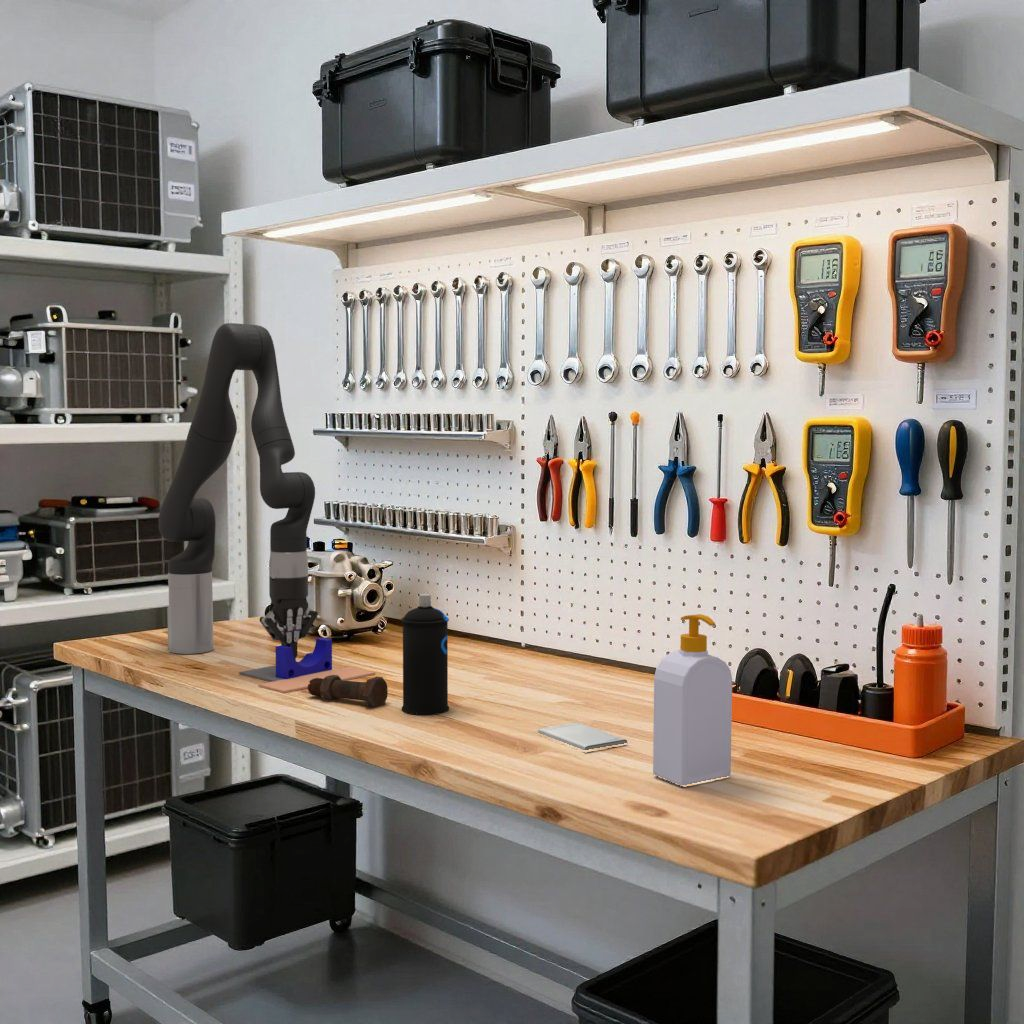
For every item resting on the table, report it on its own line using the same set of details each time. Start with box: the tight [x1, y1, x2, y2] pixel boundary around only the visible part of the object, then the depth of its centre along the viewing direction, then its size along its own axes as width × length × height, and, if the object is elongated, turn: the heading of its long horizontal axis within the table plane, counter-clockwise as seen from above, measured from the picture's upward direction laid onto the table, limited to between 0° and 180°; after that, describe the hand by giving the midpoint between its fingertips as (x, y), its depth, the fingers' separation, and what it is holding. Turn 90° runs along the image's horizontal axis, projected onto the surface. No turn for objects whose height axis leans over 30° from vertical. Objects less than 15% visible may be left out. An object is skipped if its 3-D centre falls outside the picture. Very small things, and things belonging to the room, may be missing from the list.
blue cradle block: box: [274, 637, 333, 679], centre depth 226 cm, size 12×4×6 cm, turn 142°
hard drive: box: [537, 722, 628, 750], centre depth 179 cm, size 2×8×12 cm
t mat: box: [238, 664, 376, 694], centre depth 225 cm, size 20×22×1 cm
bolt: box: [307, 675, 389, 709], centre depth 204 cm, size 6×5×15 cm
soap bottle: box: [652, 613, 733, 785], centre depth 159 cm, size 9×7×23 cm
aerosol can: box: [400, 593, 450, 716], centre depth 198 cm, size 8×8×20 cm
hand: (289, 660), depth 227 cm, fingers closed
